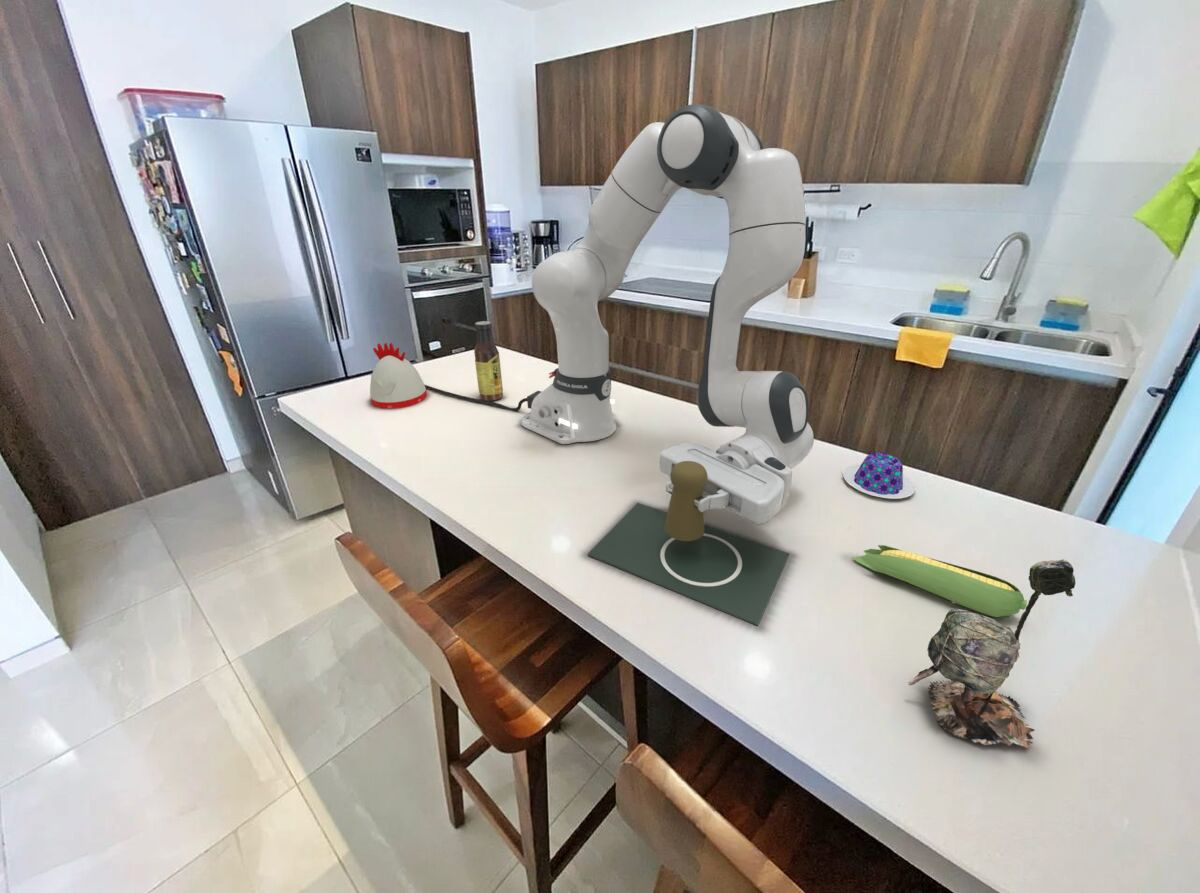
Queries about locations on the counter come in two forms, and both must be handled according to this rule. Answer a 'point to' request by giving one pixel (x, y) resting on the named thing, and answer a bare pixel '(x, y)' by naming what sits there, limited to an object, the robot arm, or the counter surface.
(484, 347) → the sauce bottle
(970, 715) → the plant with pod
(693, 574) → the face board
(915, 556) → the edible corn
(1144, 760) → the counter surface
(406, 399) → the grey and red dome
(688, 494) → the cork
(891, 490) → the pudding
